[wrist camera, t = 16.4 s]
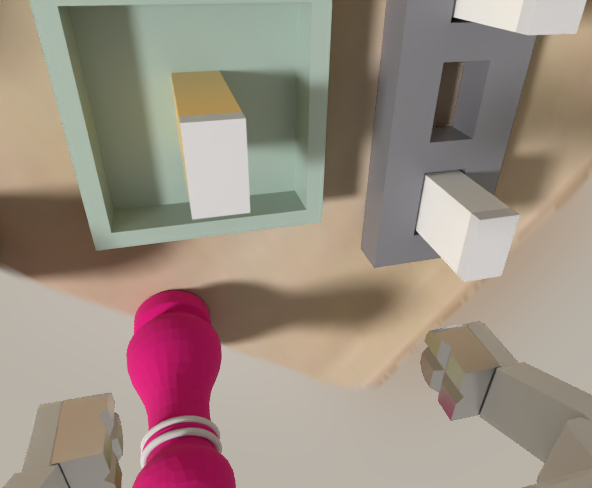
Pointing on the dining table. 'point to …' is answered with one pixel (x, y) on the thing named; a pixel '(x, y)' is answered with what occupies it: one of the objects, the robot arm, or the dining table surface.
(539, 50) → the dining table surface
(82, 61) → the tray
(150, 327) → the pepper mill
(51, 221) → the dining table surface
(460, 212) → the block
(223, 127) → the block
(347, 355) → the dining table surface
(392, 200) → the fuse block
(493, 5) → the block
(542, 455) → the robot arm
